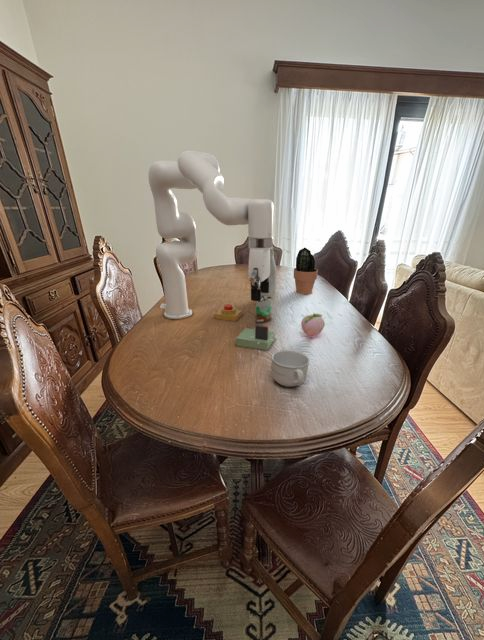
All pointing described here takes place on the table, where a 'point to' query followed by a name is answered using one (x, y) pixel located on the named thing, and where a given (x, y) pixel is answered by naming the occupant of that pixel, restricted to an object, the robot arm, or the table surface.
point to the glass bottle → (271, 275)
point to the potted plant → (305, 272)
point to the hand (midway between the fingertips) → (260, 296)
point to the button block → (228, 314)
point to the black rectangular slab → (261, 332)
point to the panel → (249, 339)
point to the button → (228, 307)
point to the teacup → (289, 367)
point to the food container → (264, 308)
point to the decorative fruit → (312, 324)
